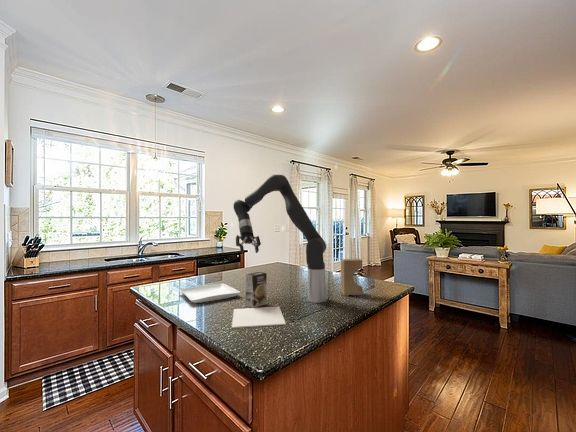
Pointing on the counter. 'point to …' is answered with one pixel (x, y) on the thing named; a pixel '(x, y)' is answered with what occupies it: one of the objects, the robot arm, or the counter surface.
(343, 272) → the decorative block
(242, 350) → the counter surface
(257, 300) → the coffee box
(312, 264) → the robot arm
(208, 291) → the square plate
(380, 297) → the counter surface
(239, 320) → the mat
